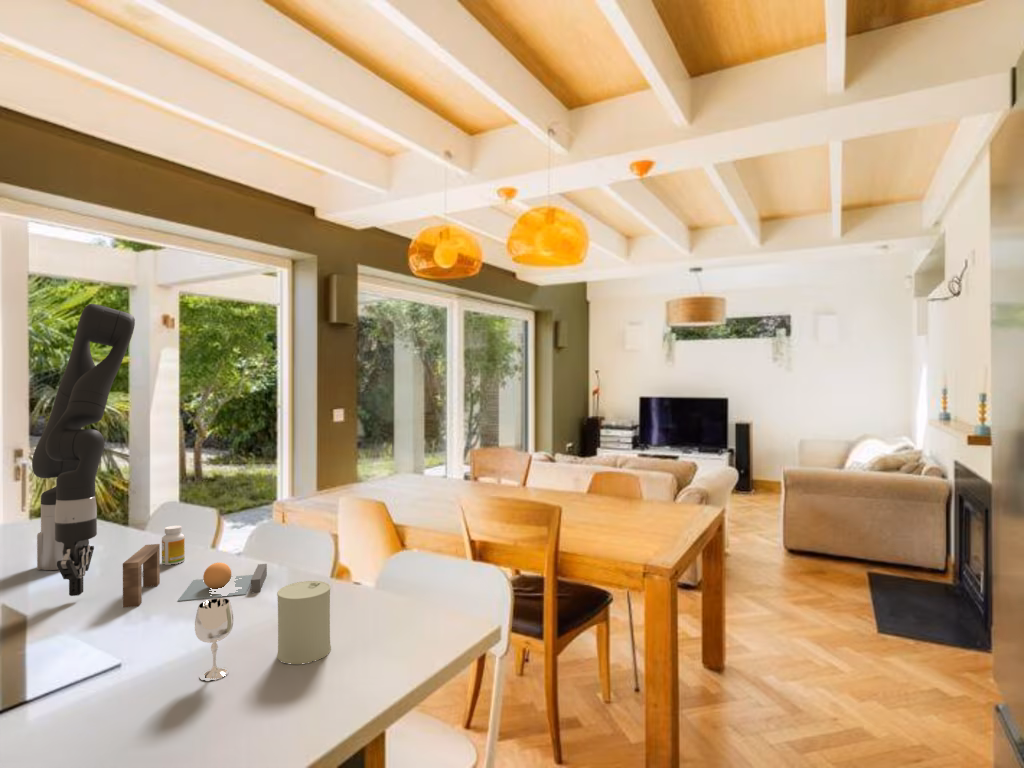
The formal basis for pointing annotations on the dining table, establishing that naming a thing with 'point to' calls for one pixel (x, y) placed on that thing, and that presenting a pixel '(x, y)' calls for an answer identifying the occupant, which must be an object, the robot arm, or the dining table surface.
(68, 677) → the dining table surface
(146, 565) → the bridge
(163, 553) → the supplement bottle
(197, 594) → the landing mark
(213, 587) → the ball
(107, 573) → the dining table surface
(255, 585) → the stopper
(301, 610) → the can
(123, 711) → the dining table surface
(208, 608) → the wineglass
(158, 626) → the dining table surface
